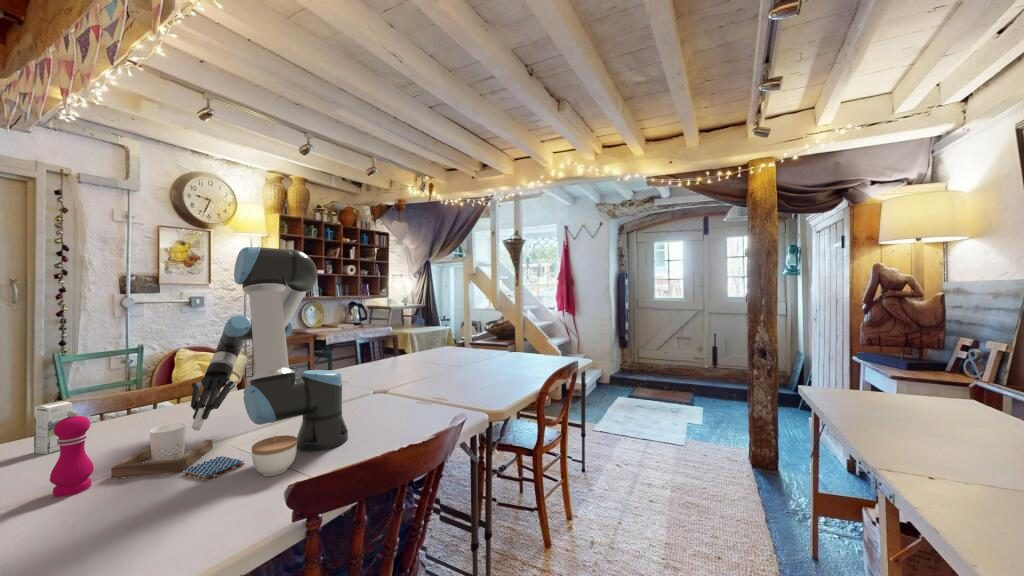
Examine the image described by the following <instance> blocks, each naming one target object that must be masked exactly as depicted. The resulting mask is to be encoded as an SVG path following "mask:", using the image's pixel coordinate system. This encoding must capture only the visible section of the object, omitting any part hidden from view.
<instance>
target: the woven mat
mask: <svg viewBox="0 0 1024 576" xmlns="http://www.w3.org/2000/svg"><path fill="white" fill-rule="evenodd" d="M245 466H246V464H245V462H244V460H242V459H238V458H237V459H236V458H234V457H233V458H231V457H229V456H225V455H221V456H216V457H215V458H213V459H212V458H211V459H209V461H206V460H205V461H203V463H198V464H197V465H195V466H192V465H191V466H190V467H189V468H187V469H184V471H183V474H182V476H185V477H188V478H193V479H194V480H200V481H203V482H209V481H211V480H212V481H213V480H214V479H216V478H219V477H222V476H223V475H226V474H228V473H230V472H232V471H235V470H238V469H240V468H242V467H245Z"/></svg>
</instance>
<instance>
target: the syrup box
mask: <svg viewBox="0 0 1024 576" xmlns="http://www.w3.org/2000/svg"><path fill="white" fill-rule="evenodd" d="M72 410H73V403H72V402H70V401H66V400H65V401H64V400H63V401H62V400H61V401H59V400H58V401H54V402H50V403H45V404H40V405H37V406H34V415H33V416H34V418H33V419H34V421H33V422H34V423H33V425H34V426H33V427H34V428H33V429H34V431H33V435H34V436H33V453H34V454H41V455H42V454H43V455H49V454H52V453H56V452H60V446H58V445H57V439H59V437H57V436H56V435H55V434H54V427H55V425H56V424H57V423H58V422H59V421H60V420H62V419H65V418H67V417H68V416H67V413H68V412H69V411H72Z"/></svg>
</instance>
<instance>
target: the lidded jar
mask: <svg viewBox="0 0 1024 576" xmlns="http://www.w3.org/2000/svg"><path fill="white" fill-rule="evenodd" d="M297 450H298V448H297V436H294V435H275V436H272V437H268V438H267V437H266V438H263V439H262V440H258V441H257V442H255V443H254V444H253V445H252V446H251V458H252V463H253V466H254V468H255V469H256V471H257V472H259V473H260V474H261V475H262V476H263V477H273V476H278V475H280V474H283V473H285V472H286V471H288V469H289V467H291V466H292V464H293V463H294V461H295V459H296V456H297Z"/></svg>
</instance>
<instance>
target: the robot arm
mask: <svg viewBox="0 0 1024 576" xmlns="http://www.w3.org/2000/svg"><path fill="white" fill-rule="evenodd" d="M233 279H234V282H235V284H236V285H239V286H240V285H241V286H242V291H243V292H244V293H245V294H246V295H248V297H249V308H250V309H249V310H250V318H251V319H249V318H248V317H247V316H243V315H240V314H238V315H233V316H231V317H230V318H229V319H228V320H227V321H226V323H225V325H224V327H223V332H222V334H221V336H220V339H219V341H218V343H217V347H216V349H215V351H214V353H213V355H212V358H211V360H210V361H209V365H208V367H207V368H206V372H205V373H204V377H202V378H201V380H200V381H199V382H197V383H196V382H193V383H191V388H192V393H191V394H192V395H191V401H190V407H191V409H192V410H193V411H194V412H193V413H194V414H193V416H192V419H193V422H192V424H191V428H192V430H193V431H194V432H195V431H201V429H202V426H203V423H204V421H205V420H207V419H208V418H209V416H210V413H211V411H212V410H217V409H219V408H220V406H221V405H222V403H223V402H224V401H225V399H226V397H227V396H228V395H229V393H230V391H231V390H233V389H234V388H235V387H236V384H235V382H234V381H233V380H231V379H230V378H231V376H232V374H233V372H234V368H235V365H236V363H237V360H238V357H239V355H240V353H241V351H242V347H243V346H244V344H245V341H251V340H252V344H253V355H254V370H255V374H253V376H252V377H251V378H250V380H249V382H250V383H249V385H247V386H246V387H245V388H244V389H243V403H244V408H245V410H246V413H247V415H248V418H249V419H250V421H251V422H252V423H254V424H255V425H266V424H273V423H276V422H279V421H285V420H288V419H292V418H296V417H300V416H302V422H301V424H300V427H299V431H298V433H297V436H296V438H297V450H298V449H299V450H300V451H305V452H316V451H317V452H318V451H323V450H329V449H332V448H336V447H337V446H340V445H343V444H344V443H346V441H348V439H349V430H348V428H347V425H346V422H345V419H344V416H343V377H342V374H341V373H340V372H338V371H335V370H327V369H326V370H325V369H310V370H304V371H303V372H302V373H301V376H300V377H296V371H294V370H293V369H291V368H290V366H289V355H288V354H289V353H288V346H287V345H288V344H287V337H289V336H290V335H292V332H293V331H292V330H293V323H292V318H293V317H294V315H295V313H296V311H297V310H298V309H299V308H298V307H299V306H300V304H301V303H302V301H303V299H304V298H305V296H306V294H307V292H309V291H311V290H312V289H313V288H314V287H315V284H316V281H317V279H318V270H317V266H316V264H315V263H314V261H313V260H312V258H311V257H310V256H309V255H307V254H306V253H305V252H303V251H301V250H297V249H285V248H275V247H273V248H271V247H263V246H262V247H261V246H257V247H255V246H254V247H253V246H247V247H246V246H245V247H243V248H241V249H240V251H239V252H238V254H237V256H236V259H235V264H234V271H233ZM202 386H203V388H202ZM201 389H202V393H201ZM200 393H201V394H200Z"/></svg>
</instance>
